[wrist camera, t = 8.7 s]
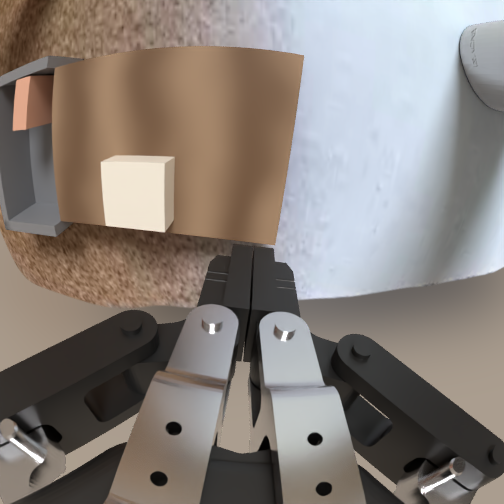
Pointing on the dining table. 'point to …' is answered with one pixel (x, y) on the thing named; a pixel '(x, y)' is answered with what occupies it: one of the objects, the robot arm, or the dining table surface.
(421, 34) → the dining table surface
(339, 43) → the dining table surface
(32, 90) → the terracotta tile
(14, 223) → the box
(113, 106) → the walnut board
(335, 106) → the dining table surface
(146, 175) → the cream block
